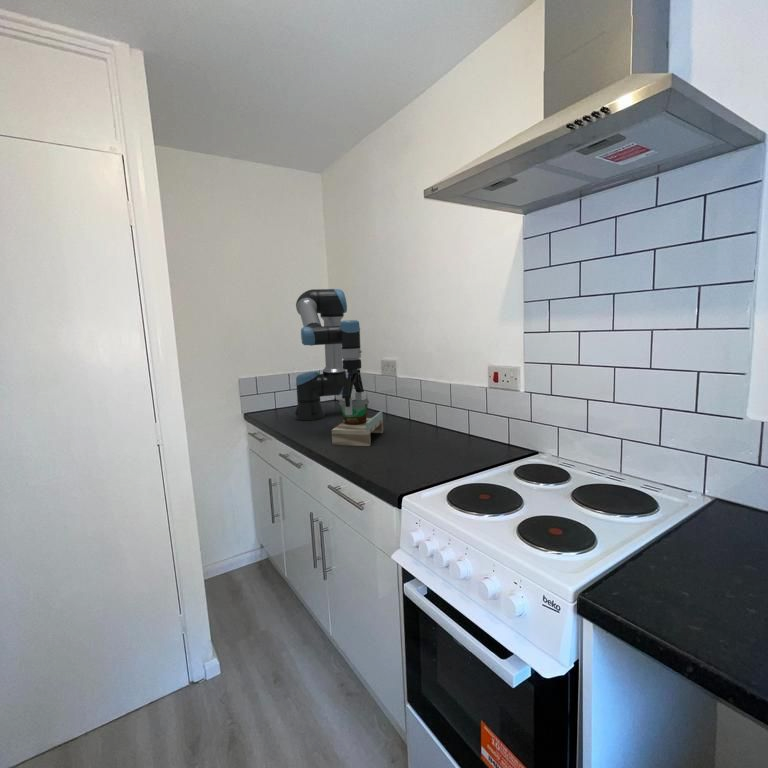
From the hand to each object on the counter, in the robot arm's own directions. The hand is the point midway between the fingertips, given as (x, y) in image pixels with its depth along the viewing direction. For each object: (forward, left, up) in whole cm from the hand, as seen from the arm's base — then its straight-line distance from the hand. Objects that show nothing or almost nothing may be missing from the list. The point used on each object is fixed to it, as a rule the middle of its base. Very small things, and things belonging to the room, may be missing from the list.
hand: (354, 411), depth 171 cm
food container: (0, 0, -5) cm, 5 cm away
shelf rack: (0, +2, -11) cm, 11 cm away
